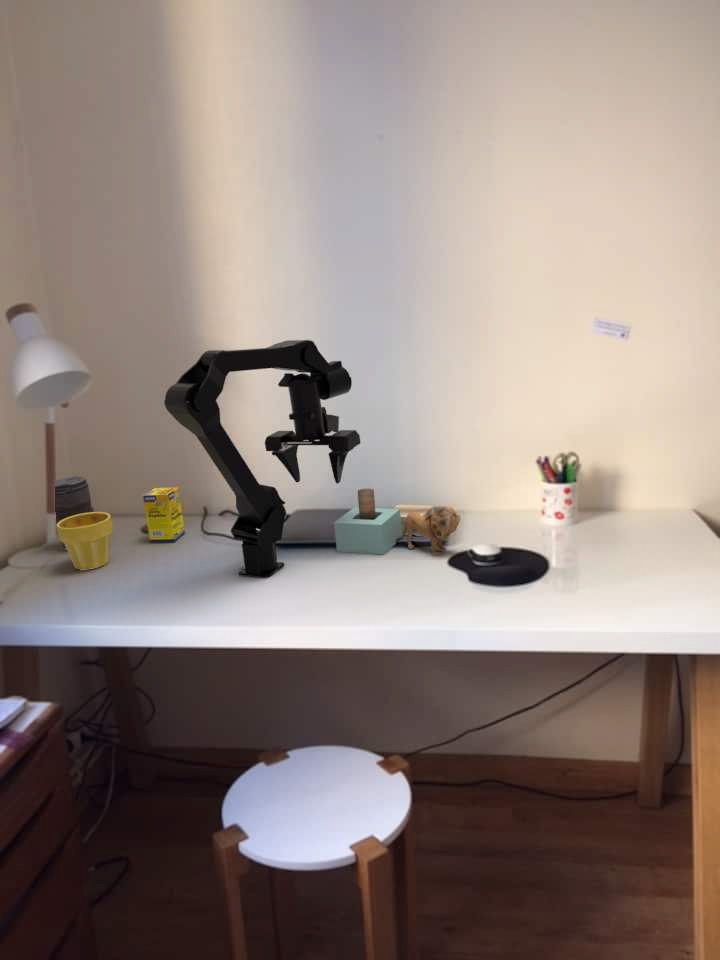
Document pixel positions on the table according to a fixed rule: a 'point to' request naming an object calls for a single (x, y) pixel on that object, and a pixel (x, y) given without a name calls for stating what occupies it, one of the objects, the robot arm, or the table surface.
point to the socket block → (368, 531)
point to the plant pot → (86, 538)
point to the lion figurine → (432, 527)
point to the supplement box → (163, 515)
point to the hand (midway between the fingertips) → (317, 482)
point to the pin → (366, 504)
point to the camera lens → (71, 498)
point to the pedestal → (408, 509)
